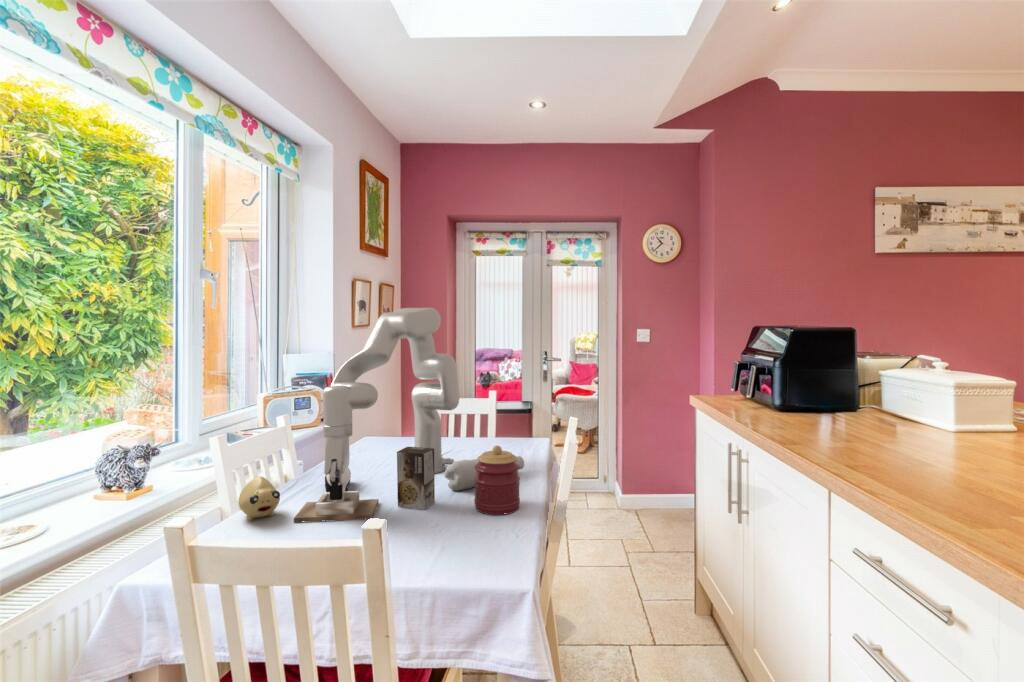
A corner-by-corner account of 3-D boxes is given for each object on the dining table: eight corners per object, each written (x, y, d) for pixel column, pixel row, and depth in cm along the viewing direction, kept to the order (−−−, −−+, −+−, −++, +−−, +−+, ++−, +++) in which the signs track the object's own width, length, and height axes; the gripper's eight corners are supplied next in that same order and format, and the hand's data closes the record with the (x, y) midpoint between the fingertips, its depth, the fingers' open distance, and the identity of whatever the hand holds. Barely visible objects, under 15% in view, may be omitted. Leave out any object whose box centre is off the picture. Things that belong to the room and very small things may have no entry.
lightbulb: (323, 508, 131) (323, 467, 131) (330, 500, 138) (330, 461, 138) (347, 507, 132) (347, 467, 132) (353, 499, 138) (353, 461, 138)
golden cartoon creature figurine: (245, 529, 123) (244, 487, 123) (235, 515, 132) (234, 476, 132) (286, 519, 130) (286, 479, 129) (274, 507, 139) (274, 470, 139)
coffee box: (435, 503, 142) (435, 448, 142) (424, 510, 136) (424, 453, 136) (408, 499, 145) (408, 445, 145) (396, 506, 139) (396, 450, 139)
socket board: (378, 503, 142) (378, 488, 142) (372, 518, 130) (372, 503, 130) (306, 506, 139) (306, 491, 139) (293, 522, 127) (293, 506, 127)
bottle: (463, 485, 148) (532, 469, 168) (454, 457, 151) (522, 445, 172) (448, 496, 153) (516, 479, 174) (439, 469, 157) (507, 455, 177)
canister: (485, 519, 130) (485, 453, 129) (467, 504, 141) (467, 443, 141) (528, 510, 136) (528, 448, 135) (507, 496, 147) (507, 439, 147)
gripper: (331, 424, 142) (332, 486, 143) (315, 437, 125) (316, 507, 126) (357, 424, 143) (358, 484, 144) (345, 437, 126) (346, 505, 127)
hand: (338, 494), depth 135 cm, fingers closed on lightbulb, 5 cm apart
